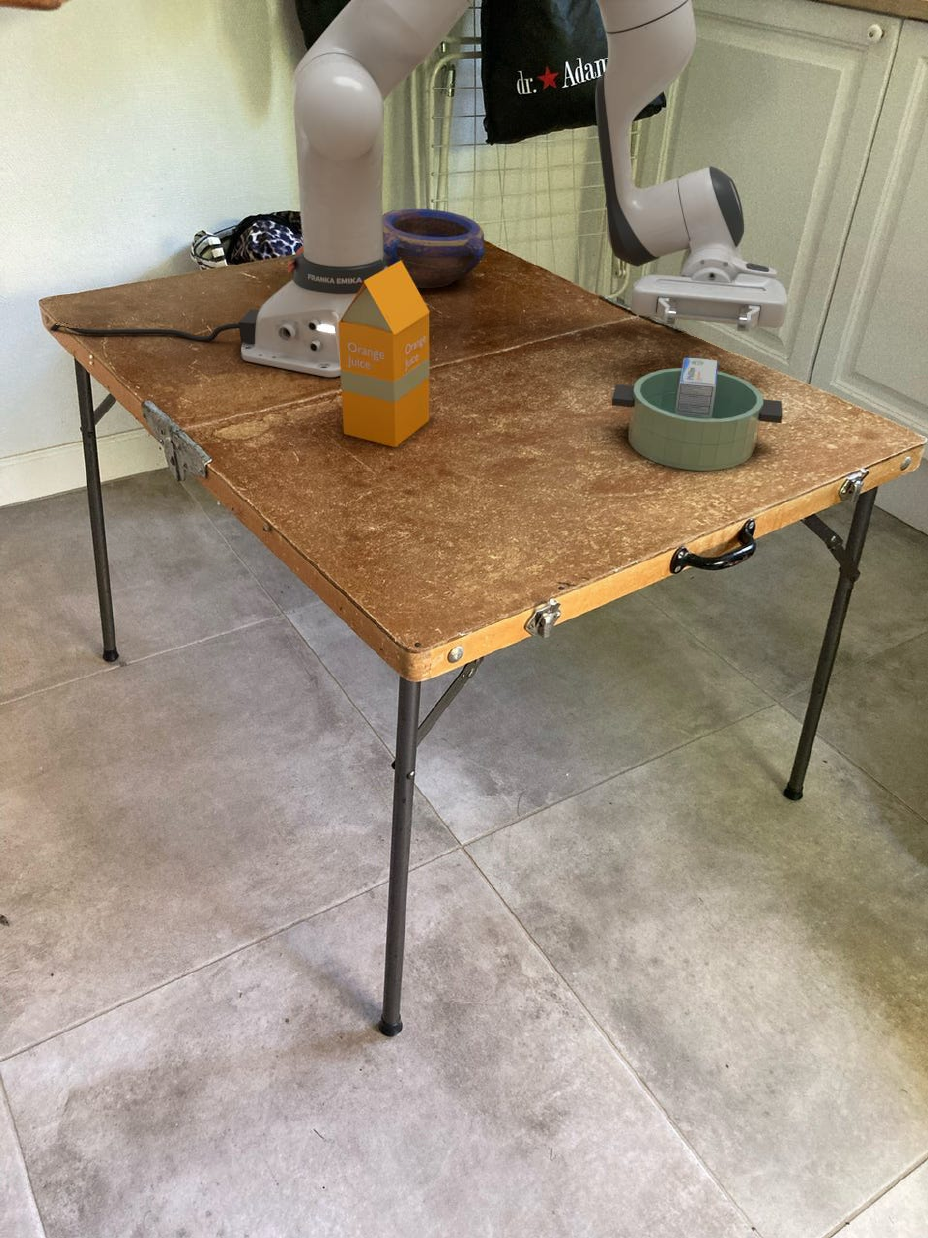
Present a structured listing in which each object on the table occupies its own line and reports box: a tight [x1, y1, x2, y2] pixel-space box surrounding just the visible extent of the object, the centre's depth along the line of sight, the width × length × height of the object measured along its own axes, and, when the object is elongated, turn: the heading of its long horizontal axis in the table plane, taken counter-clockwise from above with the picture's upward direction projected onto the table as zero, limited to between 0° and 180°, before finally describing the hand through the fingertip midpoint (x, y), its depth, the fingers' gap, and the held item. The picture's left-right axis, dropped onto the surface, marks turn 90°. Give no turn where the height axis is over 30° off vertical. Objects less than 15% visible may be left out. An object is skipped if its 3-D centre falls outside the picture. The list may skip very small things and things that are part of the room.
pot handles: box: [611, 383, 784, 424], centre depth 131 cm, size 20×4×1 cm, turn 78°
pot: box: [627, 367, 764, 472], centre depth 132 cm, size 16×16×6 cm
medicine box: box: [675, 357, 719, 419], centre depth 132 cm, size 8×4×9 cm, turn 167°
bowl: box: [383, 208, 486, 289], centre depth 179 cm, size 18×18×10 cm
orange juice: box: [338, 261, 431, 448], centre depth 130 cm, size 8×9×20 cm
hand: (706, 321), depth 137 cm, fingers open, 8 cm apart
